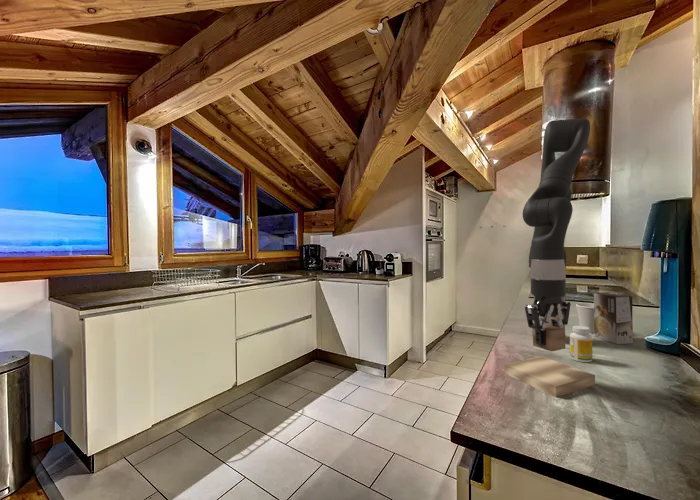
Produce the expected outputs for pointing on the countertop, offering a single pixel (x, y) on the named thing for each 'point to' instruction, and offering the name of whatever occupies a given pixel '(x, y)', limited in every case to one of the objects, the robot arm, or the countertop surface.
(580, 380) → the maple block
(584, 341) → the supplement bottle
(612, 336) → the coffee box
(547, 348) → the walnut cube
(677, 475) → the countertop surface
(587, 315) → the dixie cup
